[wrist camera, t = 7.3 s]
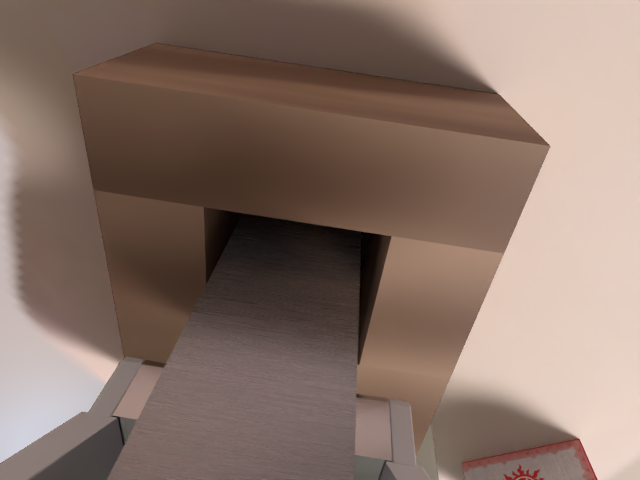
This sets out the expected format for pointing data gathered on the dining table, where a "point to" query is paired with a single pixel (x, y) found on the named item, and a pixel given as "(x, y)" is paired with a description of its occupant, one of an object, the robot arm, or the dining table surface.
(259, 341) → the peg
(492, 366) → the dining table surface
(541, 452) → the tea bag
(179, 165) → the socket
